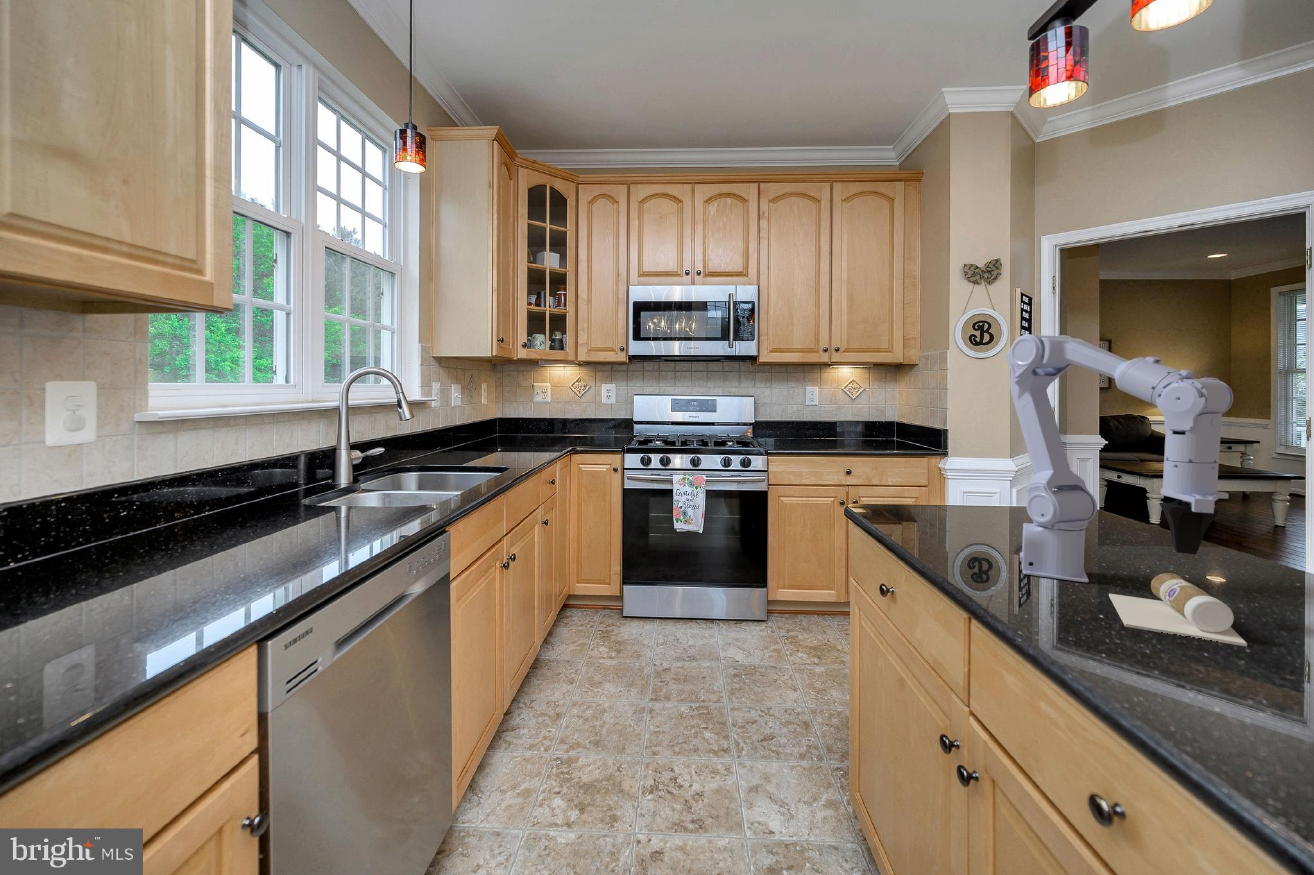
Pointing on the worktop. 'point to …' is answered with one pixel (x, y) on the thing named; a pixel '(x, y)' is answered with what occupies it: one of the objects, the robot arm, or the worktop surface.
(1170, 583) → the sprinkles bottle
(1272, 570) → the worktop surface
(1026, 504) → the robot arm
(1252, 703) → the worktop surface
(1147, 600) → the silicone mat
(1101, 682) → the worktop surface
